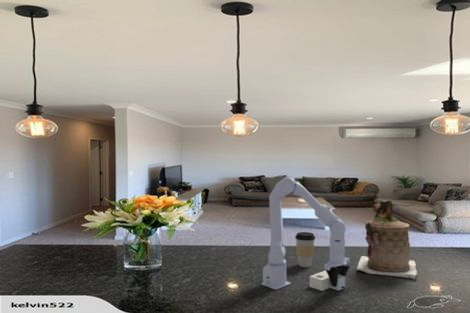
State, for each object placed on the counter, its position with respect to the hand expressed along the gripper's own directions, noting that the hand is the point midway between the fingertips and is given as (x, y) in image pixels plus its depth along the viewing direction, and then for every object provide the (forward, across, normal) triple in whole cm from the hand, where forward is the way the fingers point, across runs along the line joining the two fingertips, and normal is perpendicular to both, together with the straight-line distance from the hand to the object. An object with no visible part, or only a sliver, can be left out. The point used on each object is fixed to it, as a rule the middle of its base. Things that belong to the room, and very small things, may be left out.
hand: (337, 284), depth 144 cm
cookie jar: (+2, +38, -1) cm, 38 cm away
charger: (+2, 0, 0) cm, 2 cm away
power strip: (+2, +2, +5) cm, 6 cm away
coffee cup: (+2, +14, +27) cm, 30 cm away
